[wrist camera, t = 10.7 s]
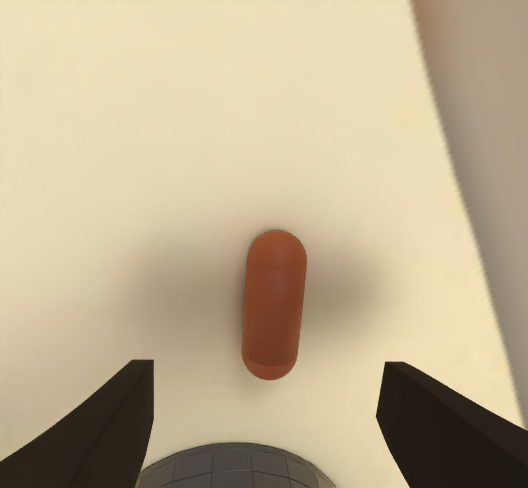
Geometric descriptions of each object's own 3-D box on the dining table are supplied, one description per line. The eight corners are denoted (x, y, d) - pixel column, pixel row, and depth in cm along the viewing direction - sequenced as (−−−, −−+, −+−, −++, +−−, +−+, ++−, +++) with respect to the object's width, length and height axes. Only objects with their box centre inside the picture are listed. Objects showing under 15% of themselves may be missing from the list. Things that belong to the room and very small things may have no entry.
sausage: (285, 357, 20) (303, 389, 17) (235, 361, 19) (246, 396, 16) (297, 226, 18) (319, 237, 15) (243, 224, 17) (256, 237, 15)
